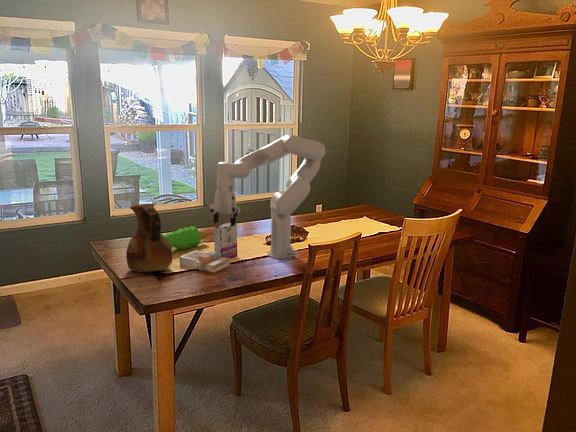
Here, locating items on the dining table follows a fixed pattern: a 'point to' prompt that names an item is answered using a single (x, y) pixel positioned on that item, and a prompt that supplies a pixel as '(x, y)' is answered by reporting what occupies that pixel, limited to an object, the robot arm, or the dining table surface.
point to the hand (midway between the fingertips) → (224, 224)
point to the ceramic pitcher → (148, 242)
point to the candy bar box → (225, 240)
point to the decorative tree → (185, 237)
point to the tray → (191, 258)
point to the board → (213, 264)
